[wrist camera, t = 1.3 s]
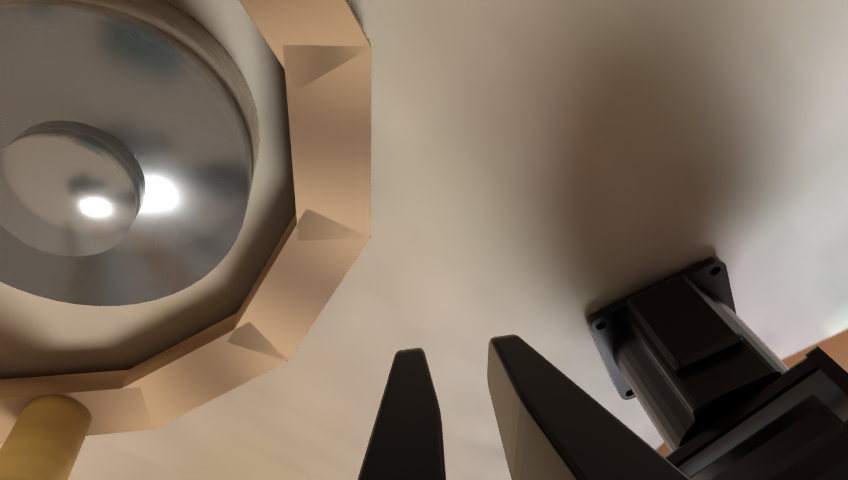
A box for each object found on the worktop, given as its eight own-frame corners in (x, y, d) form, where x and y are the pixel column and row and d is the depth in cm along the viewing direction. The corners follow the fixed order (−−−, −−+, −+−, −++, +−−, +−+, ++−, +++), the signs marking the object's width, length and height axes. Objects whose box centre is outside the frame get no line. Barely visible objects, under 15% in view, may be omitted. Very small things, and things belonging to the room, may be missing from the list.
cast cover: (308, 164, 19) (307, 244, 15) (115, 272, 20) (61, 376, 16) (134, -81, 15) (59, -67, 10) (-105, 74, 16) (-261, 144, 12)
